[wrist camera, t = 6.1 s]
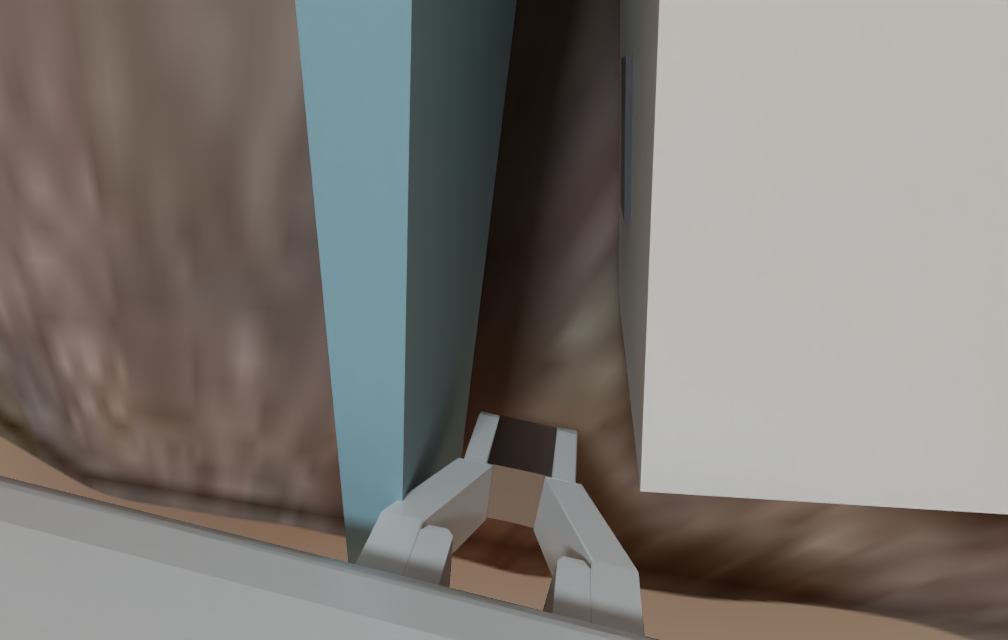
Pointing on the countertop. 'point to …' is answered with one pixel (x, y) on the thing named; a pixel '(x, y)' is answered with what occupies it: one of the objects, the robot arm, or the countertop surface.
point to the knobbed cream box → (817, 249)
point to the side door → (401, 225)
